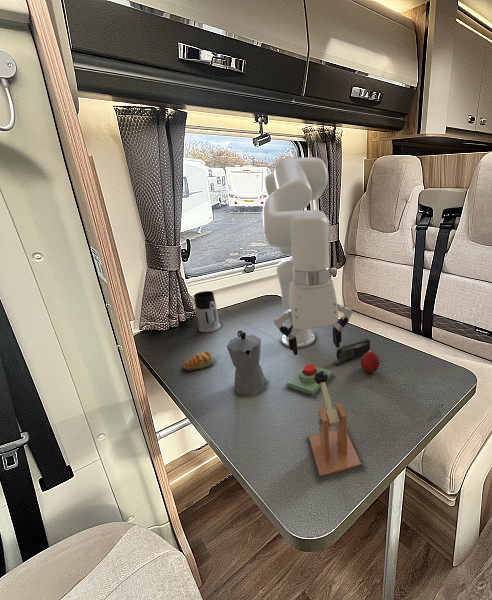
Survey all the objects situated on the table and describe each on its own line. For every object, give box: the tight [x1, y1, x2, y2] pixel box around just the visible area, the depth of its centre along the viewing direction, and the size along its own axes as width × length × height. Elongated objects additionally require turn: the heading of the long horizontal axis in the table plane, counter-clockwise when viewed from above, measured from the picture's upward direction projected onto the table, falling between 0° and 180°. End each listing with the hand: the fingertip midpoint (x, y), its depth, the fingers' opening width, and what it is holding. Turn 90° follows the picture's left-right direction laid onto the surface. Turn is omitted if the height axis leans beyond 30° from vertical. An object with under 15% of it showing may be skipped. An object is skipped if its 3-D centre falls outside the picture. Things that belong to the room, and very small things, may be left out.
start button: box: [303, 363, 316, 376], centre depth 94 cm, size 4×4×2 cm
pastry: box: [182, 350, 215, 371], centre depth 106 cm, size 9×7×4 cm
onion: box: [360, 349, 380, 373], centre depth 99 cm, size 6×6×8 cm
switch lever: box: [314, 371, 339, 429], centre depth 71 cm, size 13×3×3 cm, turn 17°
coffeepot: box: [226, 329, 267, 395], centre depth 92 cm, size 15×9×18 cm, turn 25°
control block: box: [286, 363, 333, 396], centre depth 95 cm, size 11×9×4 cm
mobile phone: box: [335, 338, 371, 365], centre depth 108 cm, size 5×3×15 cm
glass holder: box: [193, 290, 222, 333], centre depth 129 cm, size 9×14×15 cm, turn 43°
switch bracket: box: [308, 402, 362, 478], centre depth 69 cm, size 11×9×12 cm
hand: (316, 348), depth 72 cm, fingers open, 9 cm apart
